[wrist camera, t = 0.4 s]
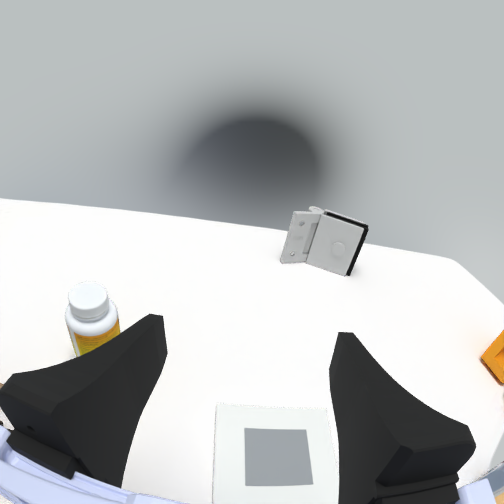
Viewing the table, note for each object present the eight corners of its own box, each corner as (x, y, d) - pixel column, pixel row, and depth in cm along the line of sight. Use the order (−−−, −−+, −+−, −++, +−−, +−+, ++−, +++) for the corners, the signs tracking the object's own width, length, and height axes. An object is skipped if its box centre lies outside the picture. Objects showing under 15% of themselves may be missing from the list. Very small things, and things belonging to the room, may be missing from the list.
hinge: (279, 263, 56) (293, 212, 51) (279, 248, 61) (292, 200, 55) (352, 278, 56) (371, 231, 51) (347, 262, 61) (364, 218, 56)
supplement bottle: (134, 363, 32) (127, 297, 27) (97, 389, 28) (78, 324, 23) (106, 335, 35) (95, 268, 29) (70, 357, 30) (50, 290, 25)
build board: (339, 508, 21) (344, 505, 21) (212, 512, 20) (213, 511, 19) (323, 412, 32) (326, 407, 31) (216, 407, 30) (217, 402, 30)
